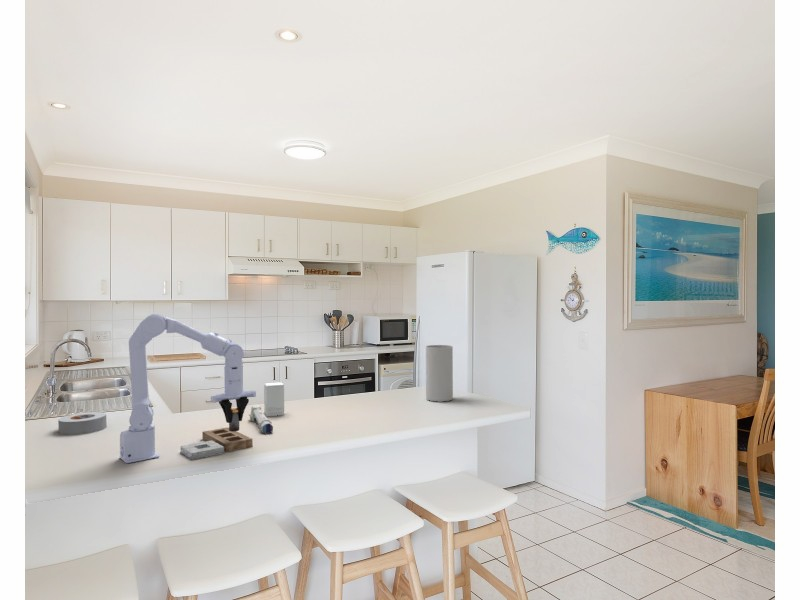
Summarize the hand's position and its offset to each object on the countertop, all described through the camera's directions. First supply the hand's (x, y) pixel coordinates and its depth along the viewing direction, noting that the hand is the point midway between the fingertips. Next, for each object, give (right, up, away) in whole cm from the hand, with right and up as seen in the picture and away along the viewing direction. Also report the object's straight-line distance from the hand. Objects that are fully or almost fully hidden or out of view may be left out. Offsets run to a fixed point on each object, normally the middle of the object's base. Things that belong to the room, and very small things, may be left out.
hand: (234, 421), depth 174 cm
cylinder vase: (+73, -7, +75) cm, 105 cm away
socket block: (-8, -8, -7) cm, 13 cm away
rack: (-4, -8, +5) cm, 10 cm away
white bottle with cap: (+2, -8, +27) cm, 29 cm away
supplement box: (+2, -8, +47) cm, 47 cm away
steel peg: (0, -3, 0) cm, 3 cm away
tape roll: (-64, -9, +23) cm, 68 cm away
